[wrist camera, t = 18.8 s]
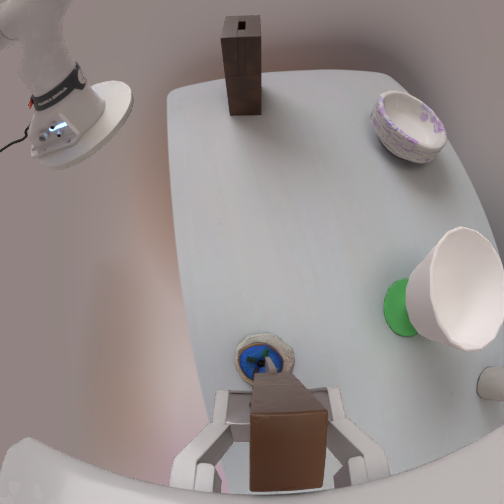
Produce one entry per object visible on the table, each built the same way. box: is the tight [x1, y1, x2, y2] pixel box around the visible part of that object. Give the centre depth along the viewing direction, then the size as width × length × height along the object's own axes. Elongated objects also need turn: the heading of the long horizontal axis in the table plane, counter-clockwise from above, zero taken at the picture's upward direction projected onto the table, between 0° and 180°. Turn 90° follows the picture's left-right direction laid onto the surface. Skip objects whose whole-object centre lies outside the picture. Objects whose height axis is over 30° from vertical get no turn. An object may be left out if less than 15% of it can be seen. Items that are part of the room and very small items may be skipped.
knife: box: [250, 357, 329, 492], centre depth 14 cm, size 2×3×17 cm, turn 0°
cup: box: [384, 227, 504, 352], centre depth 29 cm, size 14×14×16 cm
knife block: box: [221, 15, 261, 116], centre depth 41 cm, size 6×10×18 cm, turn 0°
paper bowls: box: [371, 91, 447, 163], centre depth 42 cm, size 15×15×8 cm
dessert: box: [235, 333, 294, 385], centre depth 34 cm, size 8×7×6 cm
